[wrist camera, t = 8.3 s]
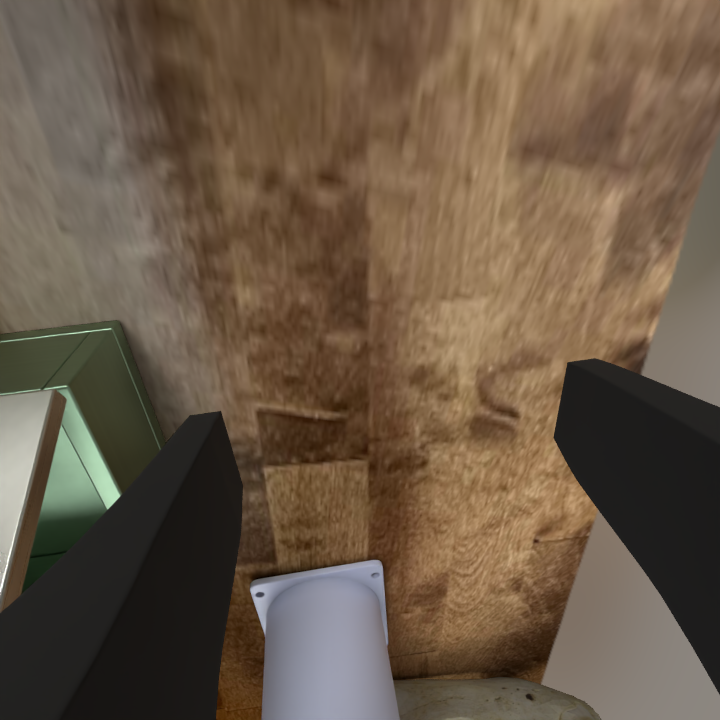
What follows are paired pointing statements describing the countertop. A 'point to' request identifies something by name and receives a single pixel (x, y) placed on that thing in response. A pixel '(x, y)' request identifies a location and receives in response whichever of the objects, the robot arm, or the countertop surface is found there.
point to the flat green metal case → (82, 426)
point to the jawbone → (486, 700)
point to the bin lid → (24, 478)
